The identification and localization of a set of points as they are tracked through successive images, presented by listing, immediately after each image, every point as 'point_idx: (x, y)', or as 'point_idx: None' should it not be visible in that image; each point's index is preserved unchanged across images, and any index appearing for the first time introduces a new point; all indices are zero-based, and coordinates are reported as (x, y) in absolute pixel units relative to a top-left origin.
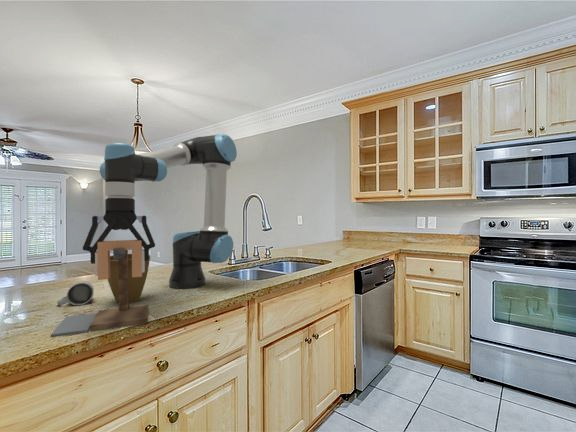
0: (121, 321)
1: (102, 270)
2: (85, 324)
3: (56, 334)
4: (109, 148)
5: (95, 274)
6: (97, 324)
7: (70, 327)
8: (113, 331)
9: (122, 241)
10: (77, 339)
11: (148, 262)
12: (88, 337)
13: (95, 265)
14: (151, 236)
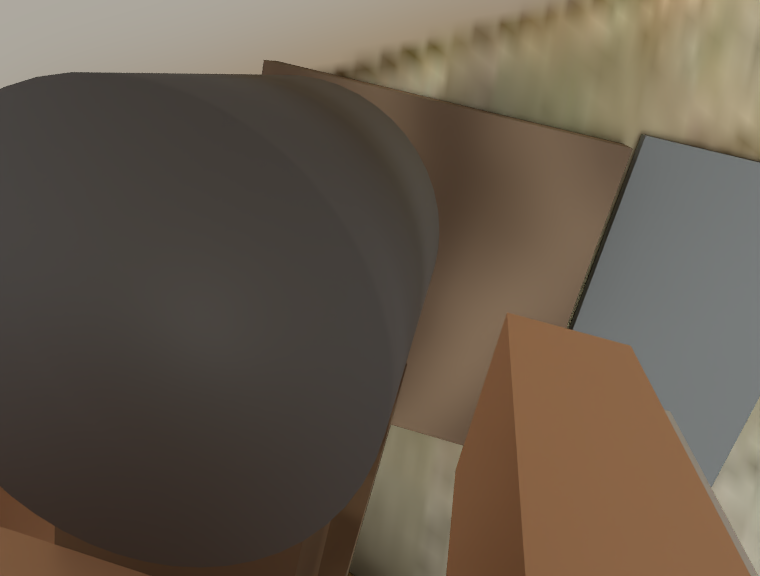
0: (430, 102)
1: (595, 393)
2: (632, 265)
3: None
4: None
5: (672, 421)
6: (583, 140)
7: (726, 263)
8: (495, 37)
9: None
10: (728, 15)
11: None
12: (658, 12)
13: (722, 520)
14: None
